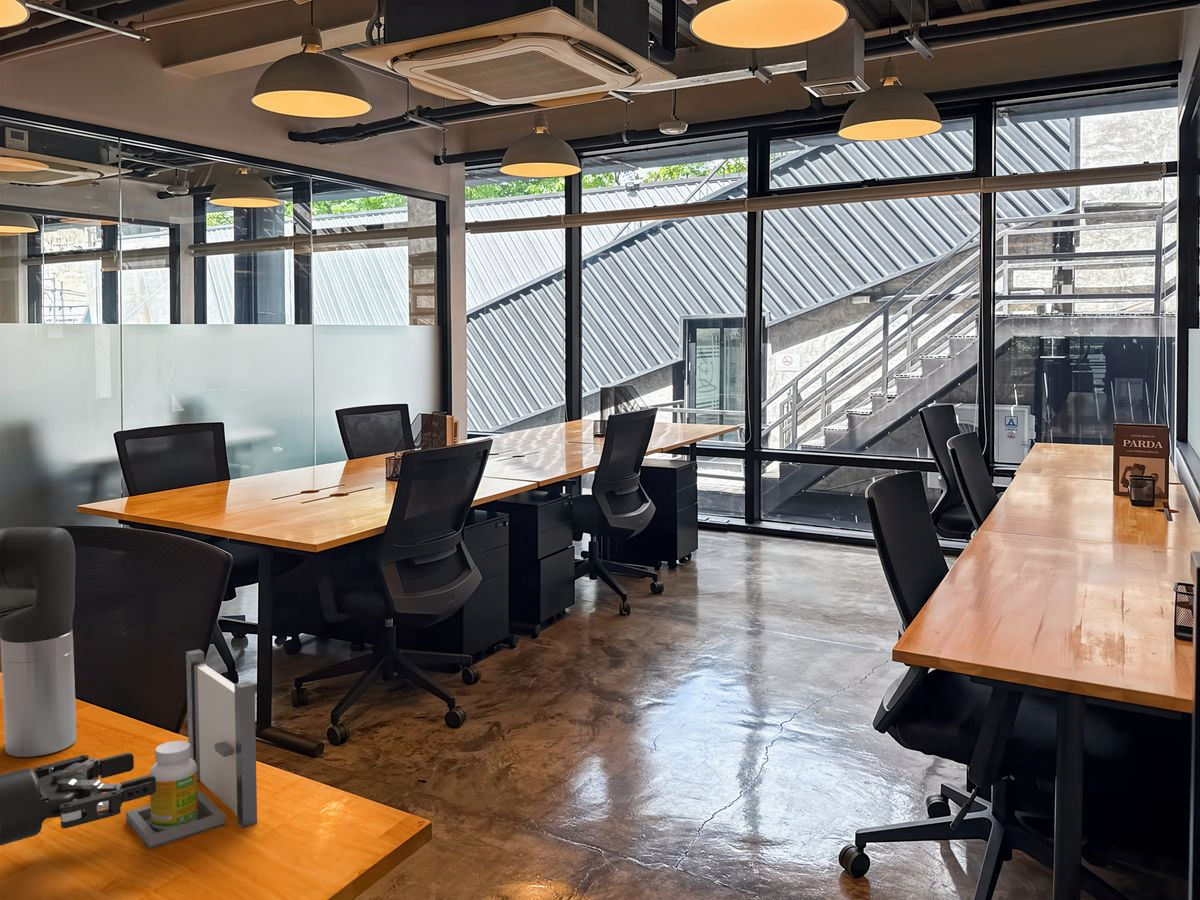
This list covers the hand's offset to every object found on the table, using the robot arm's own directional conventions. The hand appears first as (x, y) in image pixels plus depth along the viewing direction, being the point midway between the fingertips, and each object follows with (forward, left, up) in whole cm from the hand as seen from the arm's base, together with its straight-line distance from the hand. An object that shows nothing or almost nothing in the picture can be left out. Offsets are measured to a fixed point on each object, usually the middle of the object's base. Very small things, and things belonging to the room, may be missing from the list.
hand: (143, 771), depth 113 cm
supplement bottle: (0, +4, -8) cm, 8 cm away
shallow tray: (0, +4, -8) cm, 9 cm away
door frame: (-2, +10, -8) cm, 13 cm away
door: (-3, +10, -7) cm, 12 cm away
